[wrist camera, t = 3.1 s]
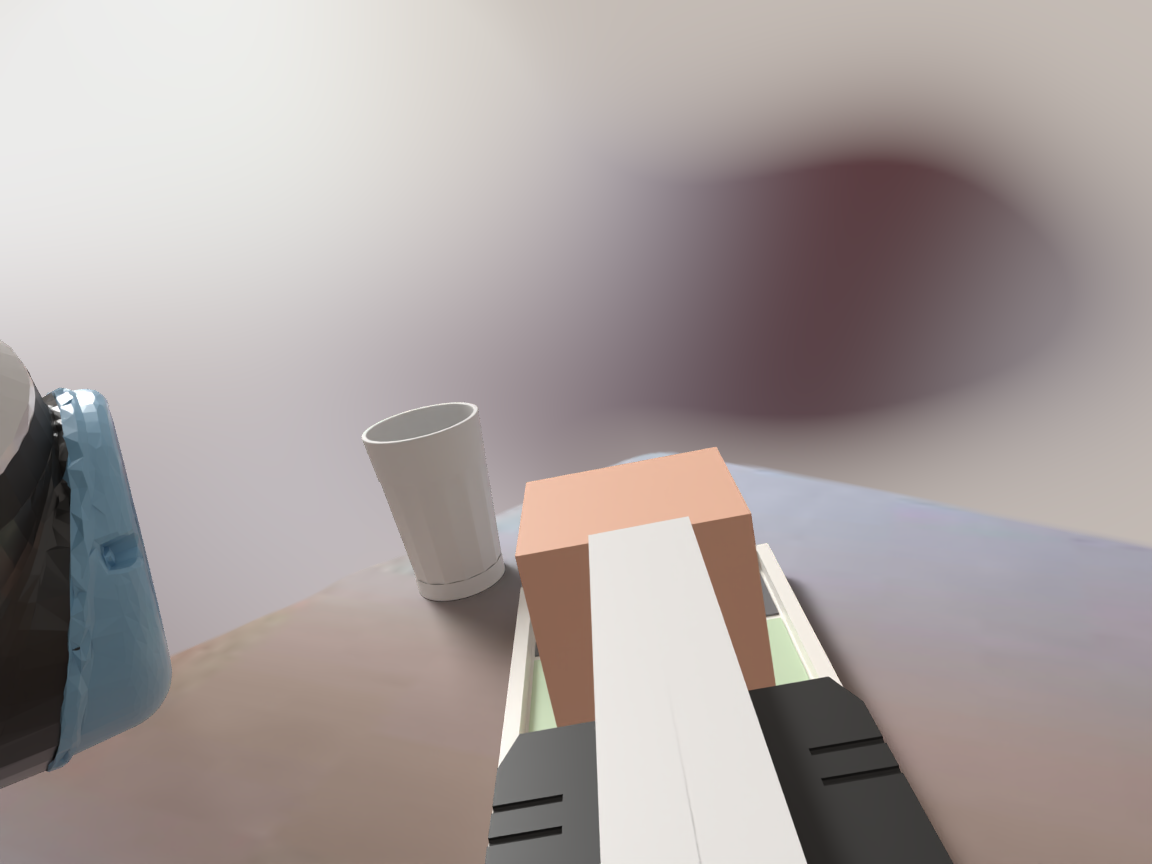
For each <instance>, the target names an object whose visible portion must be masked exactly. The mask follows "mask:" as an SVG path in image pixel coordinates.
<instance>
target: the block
mask: <svg viewBox="0 0 1152 864" xmlns="http://www.w3.org/2000/svg"><path fill="white" fill-rule="evenodd" d="M687 516H689V519H690V522H691V525H692V528H693V531H694V534H695V537H696V540H697V542H698V545H699V548H700V551H701V554H702V557H703V560H704V563H705V566H706V569H707V572H708V575H709V578H710V581H711V583H712V586H713V589H714V592H715V595H716V598H717V601H718V604H719V607H720V610H721V613H722V616H723V619H724V622H725V624H726V627H727V630H728V633H729V636H730V639H731V642H732V645H733V648H734V651H735V654H736V657H737V660H738V663H739V666H740V668H741V671H742V674H743V677H744V680H745V683H746V686H747V689H748V690H754V689H760V688H766V687H771V686H776V683H775V676H774V669H773V662H772V655H771V648H770V641H769V634H768V627H767V620H766V613H765V607H764V600H763V593H762V586H761V579H760V572H759V565H758V558H757V551H756V544H755V537H754V530H753V523H752V516H751V512H750V510H749V509H748V507H747V505H746V503H745V501H744V499H743V497H742V495H741V493H740V491H739V489H738V487H737V486H736V484H735V482H734V480H733V478H732V476H731V474H730V472H729V470H728V468H727V466H726V464H725V463H724V461H723V459H722V457H721V455H720V453H719V451H718V449H717V448H716V447H713V448H707V449H702V450H697V451H692V452H686V453H681V454H675V455H670V456H665V457H659V458H654V459H649V460H643V461H638V462H633V463H627V464H622V465H617V466H611V467H606V468H601V469H595V470H590V471H585V472H579V473H575V474H569V475H564V476H558V477H553V478H547V479H542V480H537V481H532V482H527V483H526V488H525V494H524V501H523V508H522V514H521V521H520V528H519V534H518V541H517V548H516V554H515V558H516V562H517V566H518V570H519V574H520V578H521V582H522V586H523V590H524V595H525V599H526V603H527V607H528V611H529V615H530V619H531V623H532V627H533V631H534V635H535V640H536V644H537V648H538V652H539V656H540V660H541V664H542V668H543V672H544V676H545V680H546V685H547V689H548V693H549V697H550V701H551V705H552V709H553V713H554V717H555V721H556V725H557V727H562V726H568V725H574V724H579V723H585V722H591V721H595V700H594V673H593V647H592V620H591V594H590V567H589V541H588V535H592V534H597V533H602V532H608V531H613V530H618V529H624V528H629V527H634V526H639V525H645V524H650V523H655V522H660V521H666V520H671V519H676V518H682V517H687Z"/></svg>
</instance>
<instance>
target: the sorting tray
mask: <svg viewBox="0 0 1152 864" xmlns="http://www.w3.org/2000/svg"><path fill="white" fill-rule="evenodd" d="M756 551H757V558H758V565H759V572H760V579H761V586H762V593H763V600H764V607H765V613H766V620H767V627H768V634H769V641H770V648H771V655H772V662H773V669H774V676H775V683H776V686H777V685H783V684H788V683H794V682H800V681H805V680H811V679H817V678H822V677H828V676H829V677H830V678H832V679H833V680H834V681H836V682H837V683H838V684H840V685H841V686H842V684H841V682H840V680H839V678H838V676H837V674H836V672H835V671H834V669H833V667H832V665H831V663H830V661H829V659H828V657H827V655H826V653H825V652H824V650H823V648H822V646H821V644H820V642H819V640H818V638H817V636H816V634H815V632H814V631H813V629H812V627H811V625H810V623H809V621H808V619H807V617H806V615H805V613H804V612H803V610H802V608H801V606H800V604H799V602H798V600H797V598H796V596H795V594H794V592H793V591H792V589H791V587H790V585H789V583H788V581H787V579H786V577H785V575H784V573H783V572H782V570H781V568H780V566H779V564H778V562H777V560H776V558H775V556H774V554H773V552H772V551H771V549H770V547H769V545H768V543H766V544H760V545H756ZM551 728H557V725H556V721H555V717H554V713H553V709H552V705H551V701H550V697H549V693H548V689H547V685H546V680H545V676H544V672H543V668H542V664H541V660H540V656H539V652H538V648H537V644H536V640H535V635H534V631H533V627H532V623H531V619H530V615H529V611H528V607H527V603H526V599H525V595H524V590H523V587H521V589H520V597H519V605H518V613H517V621H516V629H515V637H514V645H513V653H512V661H511V669H510V677H509V685H508V693H507V701H506V709H505V717H504V725H503V733H502V741H501V749H500V757H499V765H500V764H501V762H502V761H503V759H504V757H505V756H506V754H507V753H508V751H509V750H510V748H511V746H512V745H513V743H514V742H515V740H516V739H517V737H518V735H519V734H523V733H528V732H534V731H540V730H545V729H551ZM499 765H498V767H499ZM492 814H493V813H492ZM488 846H489V845H488Z"/></svg>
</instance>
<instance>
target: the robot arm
mask: <svg viewBox="0 0 1152 864" xmlns="http://www.w3.org/2000/svg"><path fill="white" fill-rule="evenodd" d="M588 541H589V567H590V594H591V620H592V647H593V673H594V700H595V721H591V722H585V723H579V724H574V725H568V726H562V727H557V728H551V729H545V730H540V731H534V732H528V733H523V734H519V735H518V737H517V739H516V740H515V742H514V743H513V745H512V746H511V748H510V750H509V751H508V753H507V754H506V756H505V757H504V759H503V761H502V762H501V764H500V765H499V767H498V768H497V776H496V783H495V791H494V798H493V814H491V821H490V829H489V836H488V840H489V846H488V847H487V851H486V859H485V864H953V862H952V860H951V859H950V857H949V855H948V853H947V851H946V850H945V848H944V846H943V844H942V842H941V841H940V839H939V837H938V835H937V833H936V832H935V830H934V828H933V826H932V824H931V823H930V821H929V819H928V817H927V815H926V814H925V812H924V810H923V808H922V806H921V805H920V803H919V801H918V799H917V797H916V796H915V794H914V792H913V790H912V788H911V787H910V785H909V783H908V781H907V779H906V778H905V776H904V774H903V773H901V772H900V769H899V765H898V763H897V761H896V760H895V758H894V756H893V754H892V752H891V751H890V749H889V747H888V745H887V743H884V741H883V737H882V734H881V733H880V731H879V729H878V727H877V725H876V724H875V722H874V720H873V718H872V716H871V715H870V713H869V711H868V709H867V708H866V706H865V704H864V702H863V701H862V700H860V699H859V698H858V697H856V696H855V695H853V694H852V693H851V692H849V691H848V690H847V689H845V688H844V687H843V686H841V685H840V684H838V683H837V682H836V681H834V680H833V679H832V678H830V677H829V676H828V677H822V678H817V679H811V680H805V681H800V682H794V683H788V684H783V685H777V686H771V687H766V688H760V689H754V690H748V689H747V686H746V683H745V680H744V677H743V674H742V671H741V668H740V666H739V663H738V660H737V657H736V654H735V651H734V648H733V645H732V642H731V639H730V636H729V633H728V630H727V627H726V624H725V622H724V619H723V616H722V613H721V610H720V607H719V604H718V601H717V598H716V595H715V592H714V589H713V586H712V583H711V581H710V578H709V575H708V572H707V569H706V566H705V563H704V560H703V557H702V554H701V551H700V548H699V545H698V542H697V540H696V537H695V534H694V531H693V528H692V525H691V522H690V519H689V516H687V517H682V518H676V519H671V520H666V521H660V522H655V523H650V524H645V525H639V526H634V527H629V528H624V529H618V530H613V531H608V532H602V533H597V534H592V535H588ZM171 678H172V667H171V660H170V655H169V650H168V646H167V641H166V637H165V632H164V628H163V624H162V619H161V615H160V611H159V606H158V602H157V598H156V593H155V590H154V585H153V581H152V576H151V572H150V568H149V564H148V560H147V555H146V551H145V547H144V543H143V539H142V535H141V531H140V527H139V522H138V518H137V514H136V510H135V507H134V503H133V499H132V495H131V490H130V486H129V482H128V478H127V473H126V469H125V465H124V461H123V458H122V453H121V450H120V446H119V442H118V438H117V434H116V430H115V426H114V422H113V419H112V416H111V413H110V410H109V406H108V402H107V400H106V399H105V397H104V396H103V395H102V394H100V393H99V392H97V391H95V390H89V389H80V390H75V391H72V390H70V389H66V388H58V389H56V390H54V391H52V392H51V393H47V395H46V396H45V397H43V398H42V397H41V395H40V393H39V392H38V390H37V388H36V386H35V384H34V382H33V380H32V378H31V376H30V374H29V372H28V370H27V369H26V367H25V366H24V364H23V363H22V362H21V360H20V359H19V358H18V356H17V355H16V354H15V352H14V351H13V350H12V348H11V347H9V346H8V345H7V344H5V343H4V342H2V341H1V340H0V789H1V788H3V787H6V786H8V785H11V784H13V783H16V782H18V781H21V780H23V779H26V778H28V777H31V776H33V775H36V774H38V773H41V772H43V771H48V772H50V771H53V770H56V769H59V768H61V767H63V766H64V765H65V764H66V763H68V762H69V760H70V759H71V758H72V756H73V755H75V754H77V753H79V752H81V751H83V750H85V749H88V748H90V747H92V746H94V745H96V744H98V743H100V742H103V741H105V740H107V739H109V738H111V737H113V736H116V735H118V734H120V733H122V732H124V731H126V730H128V729H131V728H133V727H135V726H137V725H139V724H141V723H142V722H144V721H145V720H147V719H148V718H149V717H150V716H152V715H153V714H154V713H155V712H156V711H157V709H158V708H159V707H160V706H161V704H162V703H163V701H164V699H165V698H166V696H167V693H168V691H169V688H170V685H171Z"/></svg>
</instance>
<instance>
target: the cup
mask: <svg viewBox="0 0 1152 864" xmlns="http://www.w3.org/2000/svg"><path fill="white" fill-rule="evenodd" d="M362 440H363V443H364V445H365V448H366V450H367V453H368V455H369V458H370V460H371V463H372V465H373V468H374V470H375V473H376V475H377V478H378V480H379V482H380V483H381V485H382V488H383V490H384V493H385V496H386V498H387V501H388V504H389V506H390V509H391V512H392V514H393V517H394V520H395V522H396V525H397V527H398V530H399V533H400V535H401V538H402V541H403V543H404V546H405V549H406V551H407V554H408V557H409V559H410V562H411V565H412V567H413V570H414V572H415V578H416V582H417V585H418V589H419V592H420V594H421V595H422V596H423V597H425V598H427V599H430V600H434V601H450V600H457V599H462V598H465V597H469V596H472V595H475V594H477V593H479V592H482V591H484V590H486V589H487V588H489V587H491V586H492V585H494V584H495V583H496V582H497V581H498V580H499V579H500V578H501V577H502V576H503V574H504V572H505V565H504V561H503V557H502V553H501V548H500V542H499V536H498V530H497V524H496V518H495V512H494V507H493V501H492V494H491V488H490V482H489V476H488V470H487V464H486V458H485V452H484V444H483V438H482V432H481V425H480V418H479V411H478V408H477V406H476V405H474V404H470V403H462V402H461V403H460V402H456V403H444V404H437V405H431V406H426V407H422V408H418V409H414V410H410V411H407V412H403V413H400V414H397V415H395V416H392V417H389V418H387V419H385V420H382V421H380V422H378V423H377V424H375V425H373V426H371V427H370V428H368V429H367V430H366V431H365V432H364V433H363V435H362Z"/></svg>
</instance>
